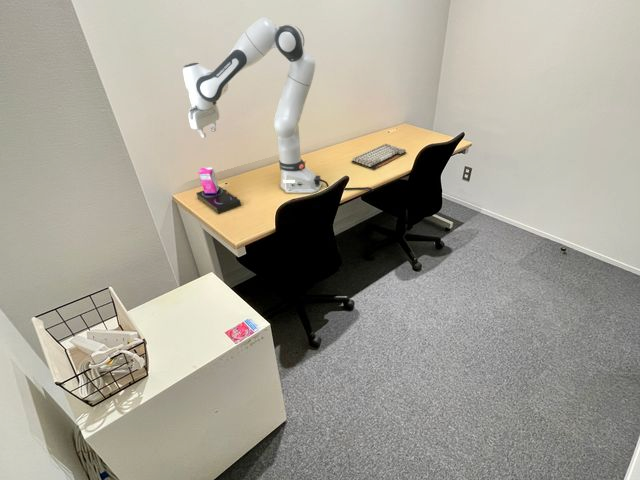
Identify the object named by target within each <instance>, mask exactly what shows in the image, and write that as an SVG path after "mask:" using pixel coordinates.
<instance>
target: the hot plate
mask: <svg viewBox="0 0 640 480" xmlns="http://www.w3.org/2000/svg"><path fill="white" fill-rule="evenodd" d="M218 186H219V185H218ZM195 193H196V197H197V199H198V200H200V202H202V203H204V205H206V206H207V207H209V208H210V209H211V210H213V211H214V212H215V213H217V214H218V215H219V214H223V213H226V212H228V211H230V210H233V209H237V208H239V207H241V206H242V203H241V200H240V199H239V198H238V196H235V195H233V194H232V193H230V192H228V191H227V189H226V188H225V189H224V188H223V187H221V186H219V190H218V192H217V194H205V192H204V190H201V191H198V192H195Z"/></svg>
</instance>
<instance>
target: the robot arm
mask: <svg viewBox="0 0 640 480" xmlns="http://www.w3.org/2000/svg"><path fill="white" fill-rule="evenodd" d="M304 47H305V37H304V34H303V32H302V30H301V29H300V28H299V27H297V26H296V25H293V24H284V25H281V26H277V24H275V23H274V21H273V20H272V19H271V18H268V17H266V16H262V17H260V18H259V19H257V20H255V21H254V22H252V23H251V24H250V25H249V26H248V27H247V28H246V29H245V30H244V31H243V32H242V34H241V35H240V36H239V38H238V39H237V41H236V42H235V44H234V45H233V47H232V49H231V51H230V52H229V54H228V55H227V57H226V58H225V59H224V60H223V61H222V62H221V63H219V65H218V66H217V67H216V68H215V69H214V70H212V69H209V68H207V67H206V66H203V65H202V64H201V63H199V62H192V63H188V64H185V65H184V66H183V67H182V76H183V77H182V78H183V81H184V85H185V89H186V90H187V93H188V99H189V103H190V108H189V110H188V122H189V126H190V129H191V130H193V131H197V132H198V133H199V135H200V138H203V139H204V138H206V137H207V133H205V132H204V128H205V127H207V126H209V125H210V131H211V132H212V133H213V132H216V131H217V127H216V126H217V121H218V120H220V111H219V108H218V105H217V104H218V101H219V99H220V98H221V97H223V95H225V94H226V92H227V91H228V89H229V82H230V81H231V80H232V79H233V78H234V77H235V76H236V75H237V74H238V73H240V72H241V71H243V70H245V69H247V68H249V67H251V66H253V65H255V64H257V63H258V62H259V61H261V60H262V59H263V58H264V57H265V56H266V55H267V54H268V53H269V52H270V51H272V49H276V48H277V50H278V51H279V53H280V54H282V56H284V57H285V58H286V59H287V60H288V61H289V68H288V72H287V75H286V78H285V82H284V84H283V88H282V92H281V93H280V94H281V95H280V97H279V102H278V105H277V108H276V112H275V115H274V118H273V123H272V124H273V125H272V126H273V128H274V131H275V133H276V135H277V136H276V137H277V150H278V158H279V160H278V162H279V164H278V165H279V170H280V184H279V185H280V186H279V187H280V189H282V190H284V192H285V193H286V194H315V193H317V192H318V191H320V189H321V188H322V183H324V184H325V185H326V187H327V188H328V186H330V185H329V183H328V182H327V181H326V180H324V179H321V175H317V174H316V173H315V172H314V171H312V170H311V169H310V168H308V167H307V166H306V163H307V162H306V160H303V159H302V154H301V153H302V152H301V141H300V126H299V123H300V120H301V117H302V115H303V110H304V107H305V104H306V101H307V98H308V95H309V92H310V89H311V86H312V84H313V80H314V75H315V69H316V61H315V59H314V57H313V56H312V55H311V54H309V53H308V52H306V50H305V48H304ZM344 188H345V191H347V190H349V191H350V190H369V191H371V192H374V189H373V188H372V187H369V186H364V187H344Z"/></svg>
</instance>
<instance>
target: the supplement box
mask: <svg viewBox="0 0 640 480" xmlns="http://www.w3.org/2000/svg"><path fill="white" fill-rule="evenodd" d="M197 173H198V177H199V179H200V184H201V186H202V189H203V191H204V192H205V194H217V192H218V190H219V183H218V179H217V177H216V172H215V170H214V167H201V168H200V169H199V170H198V172H197Z"/></svg>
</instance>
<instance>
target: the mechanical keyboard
mask: <svg viewBox="0 0 640 480" xmlns="http://www.w3.org/2000/svg"><path fill="white" fill-rule="evenodd" d="M405 154H407V150H406V148H403V147H402V148H400V147H399V146H398V147H397V146H395V145H391V144H389V143H384V144H382V145H379V146H378V147H374V148H372V149H370V150H368V151H366V152H363V153H361V154H359V155H357V156H355V157H352V160H351V163H352V164H355V165H358V166H361V167H363V168H366V169H369V170H372V171H376V170H377V169H379V168H381V167H383V166H384V165H386V164H388V163H390V162H392V161H393V160H396V159H397V158H399V157H401V156H403V155H405Z"/></svg>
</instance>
